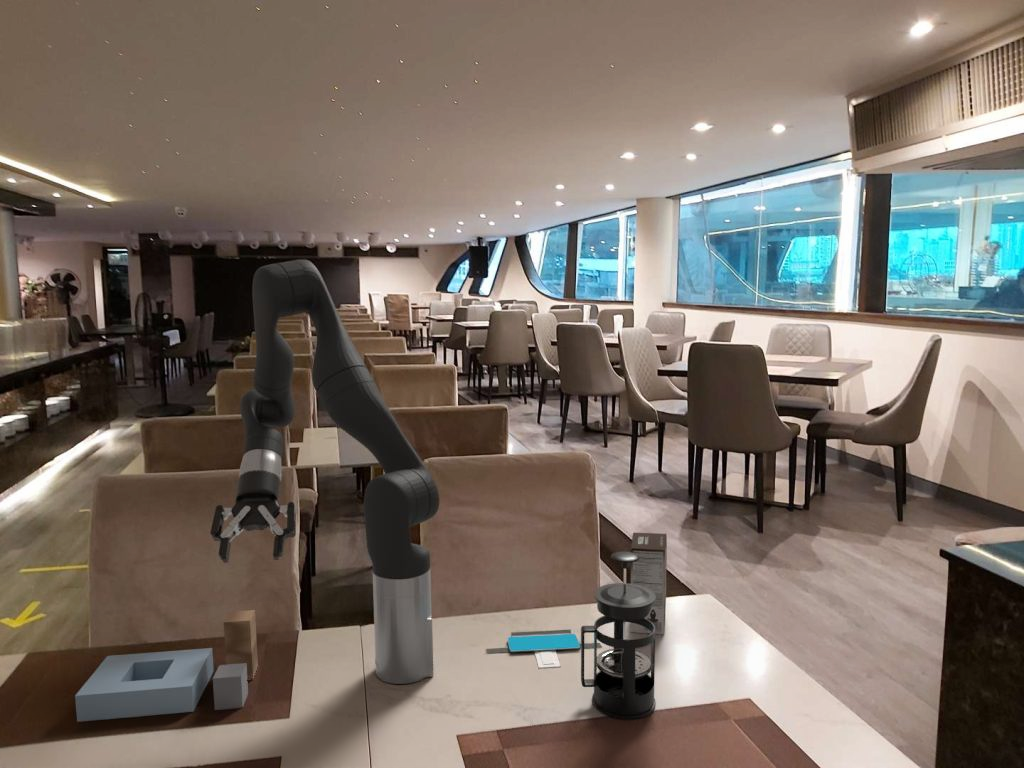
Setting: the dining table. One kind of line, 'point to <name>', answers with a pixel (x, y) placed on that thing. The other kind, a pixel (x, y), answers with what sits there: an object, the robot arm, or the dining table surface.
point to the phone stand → (542, 645)
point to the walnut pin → (241, 640)
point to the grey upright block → (230, 686)
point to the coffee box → (651, 576)
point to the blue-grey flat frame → (145, 684)
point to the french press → (622, 649)
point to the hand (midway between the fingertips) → (250, 559)
